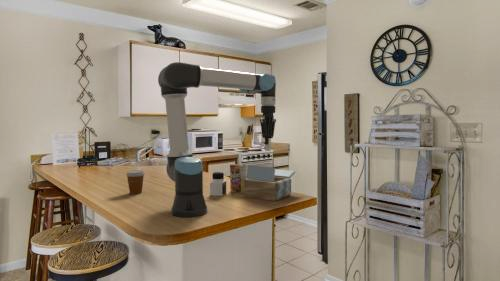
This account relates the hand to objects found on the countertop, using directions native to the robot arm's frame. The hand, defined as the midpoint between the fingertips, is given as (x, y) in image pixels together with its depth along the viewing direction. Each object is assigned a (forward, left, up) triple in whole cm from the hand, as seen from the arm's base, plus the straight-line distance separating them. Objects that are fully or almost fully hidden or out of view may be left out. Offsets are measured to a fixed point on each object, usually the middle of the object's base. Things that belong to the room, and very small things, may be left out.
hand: (267, 150), depth 172 cm
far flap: (+8, 0, -15) cm, 17 cm away
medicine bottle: (-12, +24, -24) cm, 36 cm away
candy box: (-1, +19, -24) cm, 31 cm away
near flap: (-8, 0, -15) cm, 17 cm away
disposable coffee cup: (-35, +64, -24) cm, 77 cm away
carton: (0, 0, -24) cm, 24 cm away
